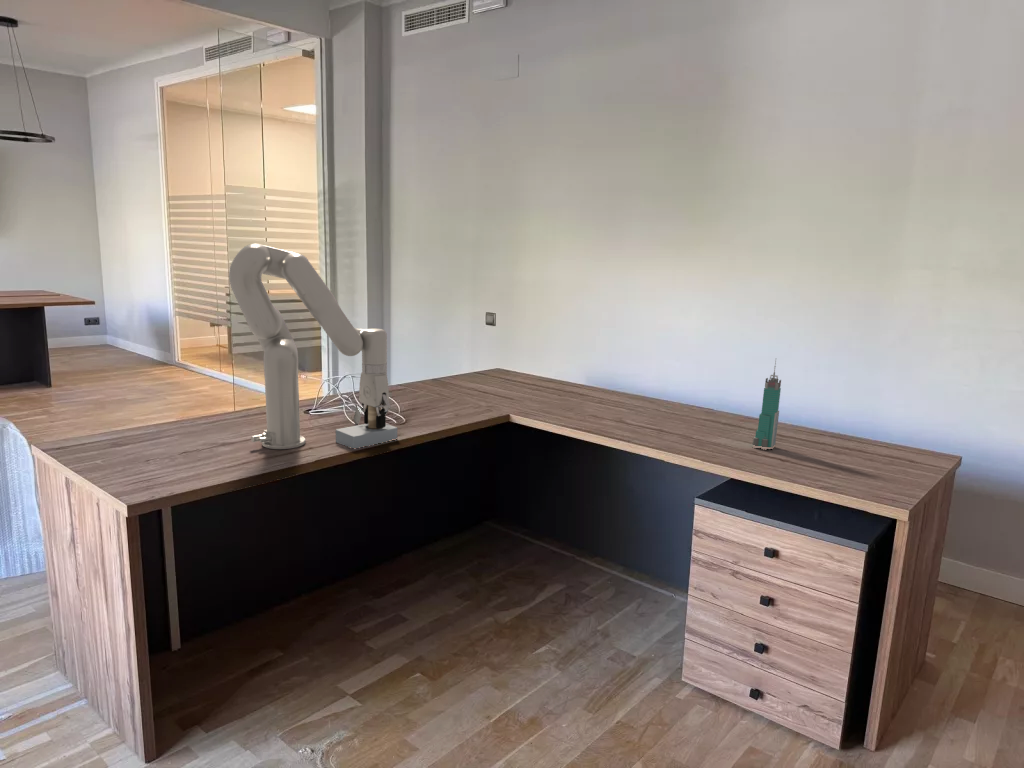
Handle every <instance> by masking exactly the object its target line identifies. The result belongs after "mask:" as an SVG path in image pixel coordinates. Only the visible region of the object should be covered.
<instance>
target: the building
mask: <svg viewBox="0 0 1024 768" xmlns="http://www.w3.org/2000/svg"><path fill="white" fill-rule="evenodd" d="M774 361H775V363H774V367H773V374H770V375H769V378H768V377H767V378H765V383H764V388H763V397H762V405H761V413H759V416H758V424H757V429H756V430H755V436H753V438H752V445H755V446H762V447H773V446H774V445H775V446H776V444H777V443H776V442H777V435H778V425H779V417H780V410H779V408H780V407H779V406H780V399H781V392H782V391H781V389H782V388H781V386H782V385H781V384H782V379H779V375H776V367H777V366H776V365H777V363H776V362H777V359H775V360H774Z"/></svg>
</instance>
